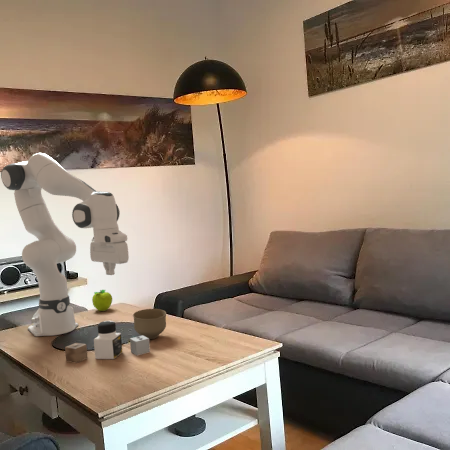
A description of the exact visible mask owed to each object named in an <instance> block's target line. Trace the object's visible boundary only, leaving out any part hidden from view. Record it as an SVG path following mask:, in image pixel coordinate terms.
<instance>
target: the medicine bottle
mask: <svg viewBox="0 0 450 450" xmlns="http://www.w3.org/2000/svg"><path fill="white" fill-rule="evenodd" d="M116 328H117V325H116V321H113V320H104V321H101V322H99V323H98V324H97V333H98V335H97V337H95V338H93V347H94V349H93V350H94V358H95V359H96V360H115V359H116V358H117V357H118V356H120V355H121V354H122V353H123V343H122V333H121V332H117V329H116Z"/></svg>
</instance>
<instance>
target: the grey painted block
mask: <svg viewBox="0 0 450 450" xmlns="http://www.w3.org/2000/svg"><path fill="white" fill-rule="evenodd" d="M129 343H130V353H132V354H133V355H135V356H141V355H144V354H149V353H151V349H150V347H151V346H150V339H149V338H147V337H145V336H143V335H142V336H141V335H139V336H134V337H130V338H129Z"/></svg>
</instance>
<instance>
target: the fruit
mask: <svg viewBox="0 0 450 450" xmlns="http://www.w3.org/2000/svg"><path fill="white" fill-rule="evenodd" d="M91 301H92V306H93V308H95V309H96V310H97V311H99V312H101V311H102V312H105V311H108V310H109V308H110V307H112V303H113V296H112V295H111V293H110V292H108V291H106V289H100V290H99V291H94V292H93V296H92V297H91Z"/></svg>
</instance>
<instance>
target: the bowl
mask: <svg viewBox="0 0 450 450" xmlns="http://www.w3.org/2000/svg"><path fill="white" fill-rule="evenodd" d="M166 316H167V312H166V310H163V309H160V308H144V309H141V310H136V311H135V312H134V313H133V314H132V317H133V328H134V331H135V332H136V333H137V334H138V335H139V336H142V335H143V336H145V337H147V338H149V340H154V339H156V338H157V337H158V336H159V335H160V334H162V333H163V332H164V331H165V329H166V327H167V320H166V319H167V317H166Z"/></svg>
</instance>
